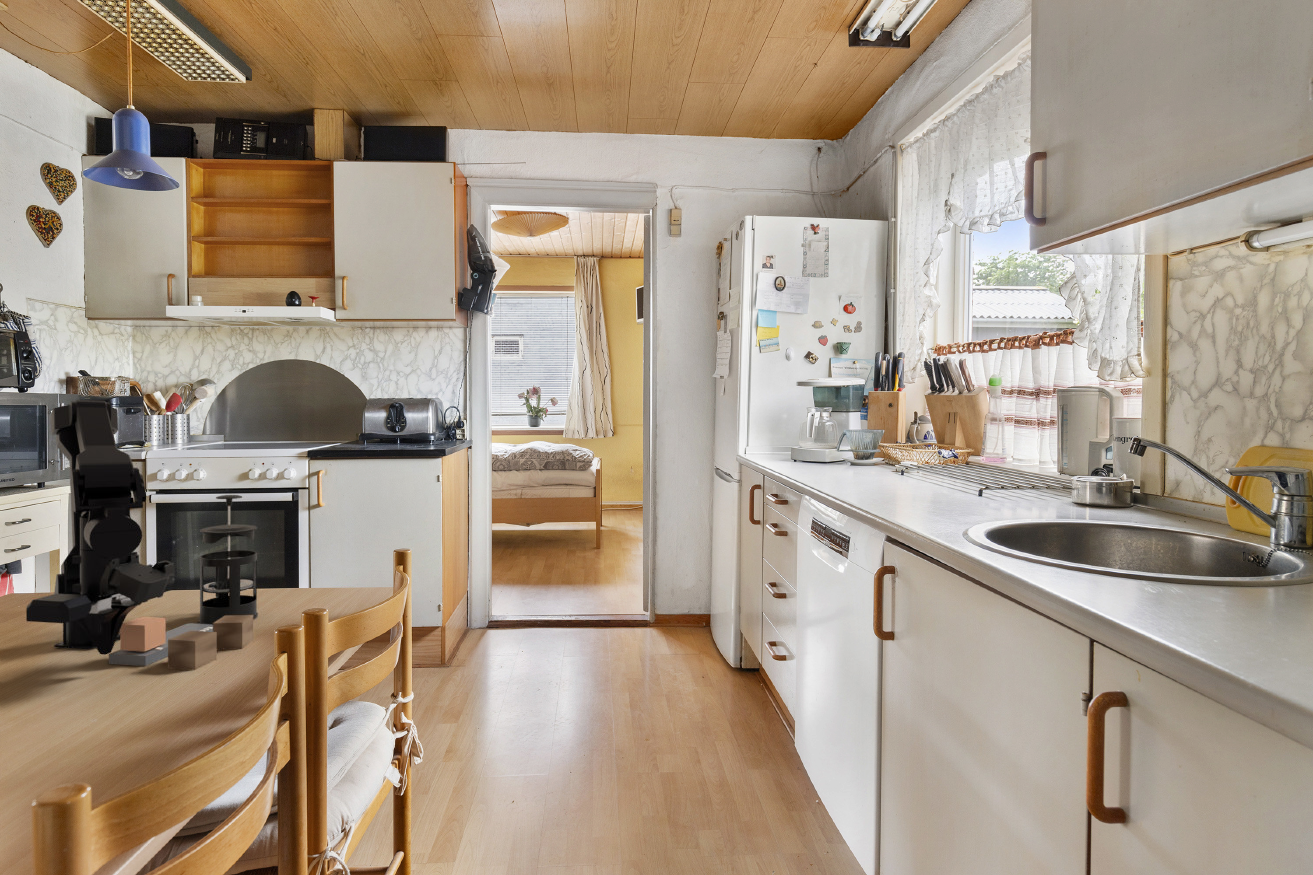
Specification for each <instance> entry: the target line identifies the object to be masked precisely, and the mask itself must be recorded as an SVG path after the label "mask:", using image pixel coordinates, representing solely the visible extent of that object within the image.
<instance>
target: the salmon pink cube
mask: <svg viewBox="0 0 1313 875" xmlns="http://www.w3.org/2000/svg"><path fill="white" fill-rule="evenodd" d="M166 622H167V621H166V618H165V617H156V616H155V617H152V616H140V617H138V618H134V619H131V620H129V621H126V622H125V621H124V622H123V624H122V626H121V629H120V631H119V633H120V634H121V638H120V649H121V650H126V651H144V652H145V651H147V650H150V649H152V648H155V647H157V646H160V645H162V644H165V642H166V632H167V631H166Z"/></svg>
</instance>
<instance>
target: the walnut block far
mask: <svg viewBox="0 0 1313 875" xmlns="http://www.w3.org/2000/svg"><path fill="white" fill-rule="evenodd" d="M213 632H217V651H218V650H243V649H244V648H245V647H247V646H248V645H250V643H252V642H253V641H254V620H253V615H229V616H223V617H222V618H220V619H219V620H217V621H216V622H214V623H213Z"/></svg>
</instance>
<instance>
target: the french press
mask: <svg viewBox="0 0 1313 875" xmlns="http://www.w3.org/2000/svg"><path fill="white" fill-rule="evenodd" d="M242 498H243V496H242V495H239V494H223V495H219V496H216V497H215V499H216V500H225V503H226V504H225V505H226V507H227V524H221V525H216V526H207V527H203V528H202V529H200V530H199V532H200V533H201V534H202V542H203V543H204V544H210V545H212V544H216V543H218V542H219V541H220V540H222V539H223V538H227V550H226V549H225V550H217V551H212V552H208V553H204V554H201V555H200V556H199V561H200V562H199V568H200V570H199V619H198V624H212V625H213V623H214V622H216V621H217V620H219V619H220V618H222V617H223V616H229V615H253V621H254V620H256V619H257V618H258V616H259V613H258V611H257V609H258V608H257V607H258V605H257V602H258V601H257V599H258V598H257V592H258V591H257V584H258V583H257V582H258V580H257V578H258V573H257V572H258V570H257V569H258V553H257V551H255V550H247V549H243V550H242V549H235V550H234V549H233V550H232V549H231V537H245V538H247V539H248V540H251V541H253V540H255V531H256V530H258V526H256V525H251V524H237V523H236V524H234V523H232V524H231V507H233V500H235V499H236V500H237V499H242ZM252 563H253V564H252ZM248 564H252V565H253V567H252V572H253V573H252V576H253V577H252V578H253V580H251V579H241V566H243V565H248ZM204 567H208V568H210V567H211V568H212V567H213V568H215V581H213V582H212V581H211V582H209V583H206V584H204ZM252 588H253V589H252ZM251 589H252V590H253V592H252V595H245V594H244V595H243V594H241V592H243V591H247V590H251ZM204 593H208V594H215V597H213V598H208V599H206V600H204Z"/></svg>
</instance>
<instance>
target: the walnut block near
mask: <svg viewBox="0 0 1313 875" xmlns="http://www.w3.org/2000/svg"><path fill="white" fill-rule="evenodd" d="M217 651H218V650H217V632H204V631H188V632H186V633H183V634H181V635H178V636H176V637H173V638H171V639H168V657H167V669H177V670H179V669H180V670H193V671H195V670H196V671H197V670H198V669H200V668H202V667H204V666H206V665H208V664H211V663H212V662H215V661H217V653H218V652H217Z"/></svg>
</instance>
